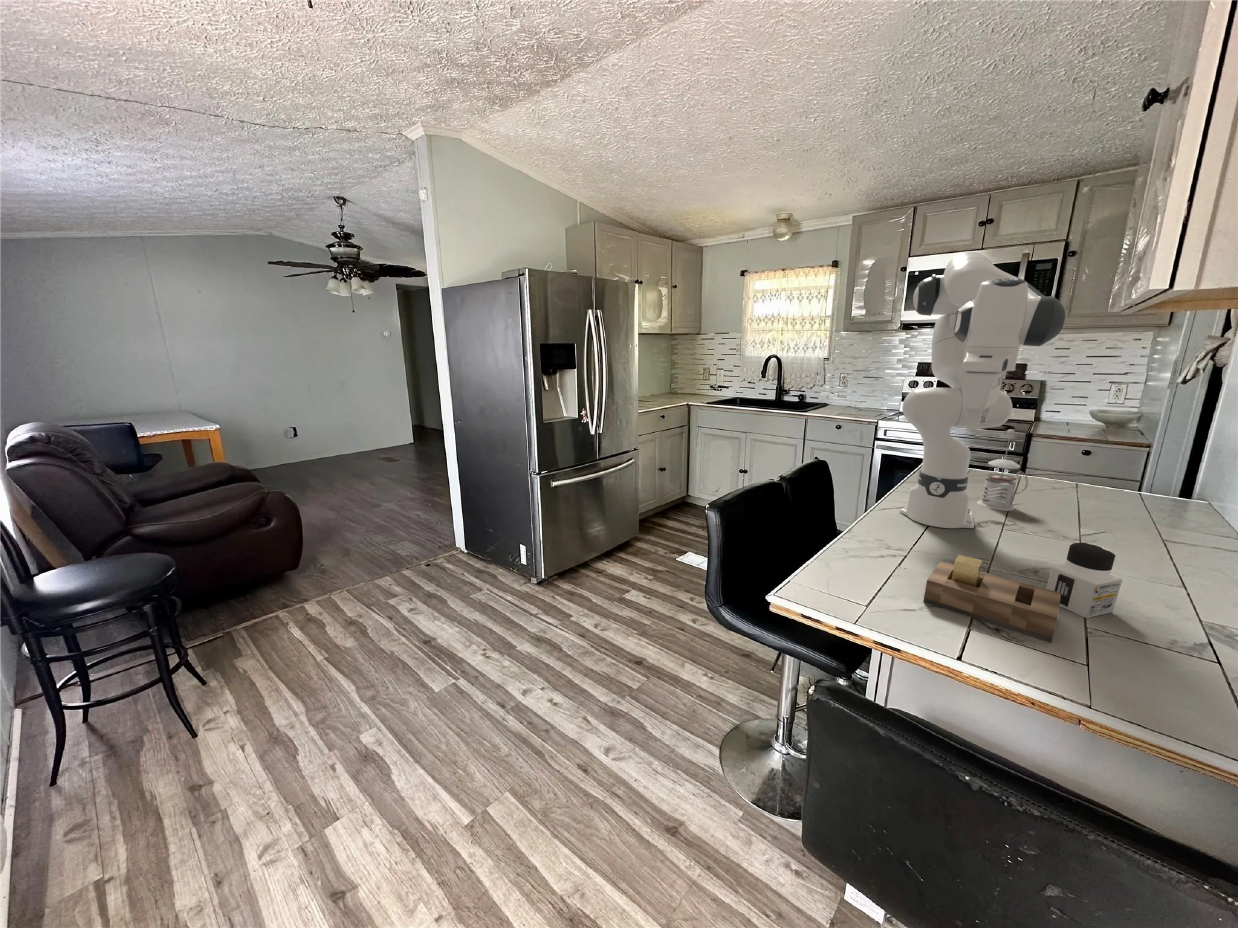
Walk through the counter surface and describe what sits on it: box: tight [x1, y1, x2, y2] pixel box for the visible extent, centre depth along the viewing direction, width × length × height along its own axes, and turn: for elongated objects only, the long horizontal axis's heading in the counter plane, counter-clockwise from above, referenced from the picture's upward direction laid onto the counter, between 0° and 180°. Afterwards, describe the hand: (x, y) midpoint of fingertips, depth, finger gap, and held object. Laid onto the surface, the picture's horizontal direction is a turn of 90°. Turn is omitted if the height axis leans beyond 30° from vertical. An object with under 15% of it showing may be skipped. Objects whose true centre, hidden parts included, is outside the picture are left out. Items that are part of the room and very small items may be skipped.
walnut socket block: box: [923, 560, 1061, 644], centre depth 97 cm, size 12×20×5 cm, turn 46°
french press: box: [976, 429, 1029, 512], centre depth 152 cm, size 10×12×25 cm
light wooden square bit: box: [951, 554, 983, 587], centre depth 99 cm, size 4×4×8 cm
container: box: [1045, 542, 1123, 619], centre depth 97 cm, size 8×8×13 cm
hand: (976, 427), depth 104 cm, fingers open, 8 cm apart
